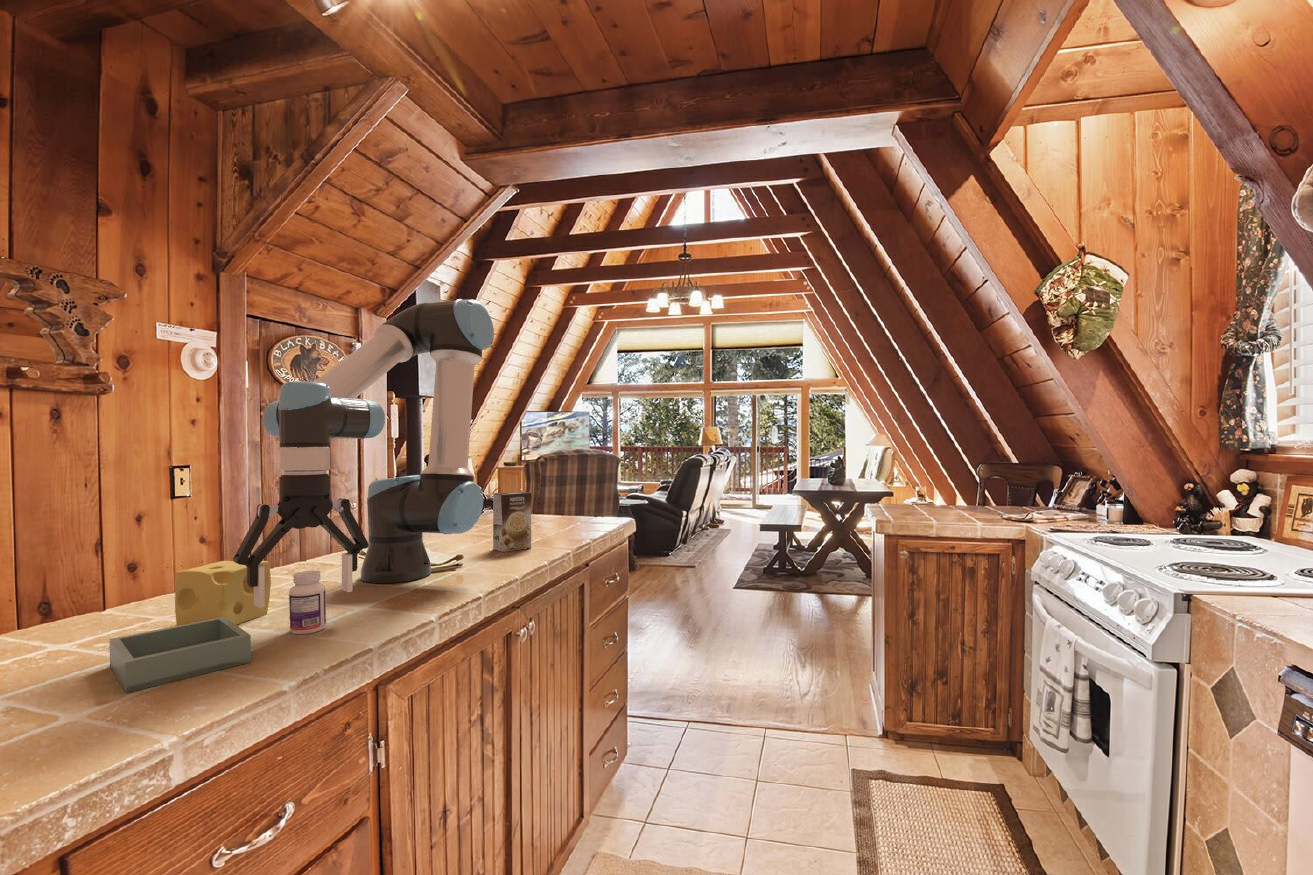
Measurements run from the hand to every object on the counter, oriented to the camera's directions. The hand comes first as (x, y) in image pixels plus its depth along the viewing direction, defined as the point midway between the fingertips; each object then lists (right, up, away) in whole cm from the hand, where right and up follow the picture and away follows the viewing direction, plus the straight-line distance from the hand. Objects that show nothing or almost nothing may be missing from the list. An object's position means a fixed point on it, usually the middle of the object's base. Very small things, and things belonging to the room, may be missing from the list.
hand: (305, 598), depth 105 cm
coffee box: (+18, -5, +72) cm, 74 cm away
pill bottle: (0, -6, +1) cm, 6 cm away
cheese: (-19, -6, +7) cm, 21 cm away
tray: (-10, -6, -15) cm, 19 cm away
